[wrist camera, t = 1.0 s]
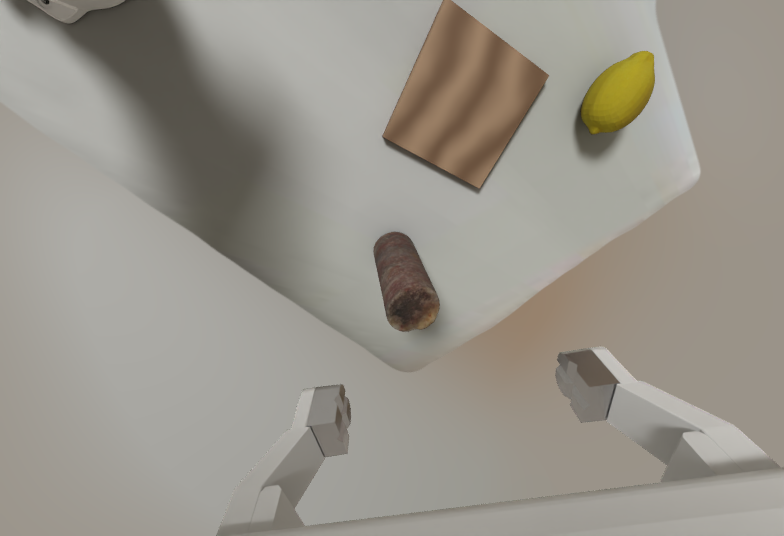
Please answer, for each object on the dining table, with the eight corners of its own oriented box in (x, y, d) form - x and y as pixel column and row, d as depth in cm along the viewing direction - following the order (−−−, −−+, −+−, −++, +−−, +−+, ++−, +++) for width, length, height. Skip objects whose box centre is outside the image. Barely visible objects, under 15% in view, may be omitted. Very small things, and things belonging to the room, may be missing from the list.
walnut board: (382, 136, 46) (383, 137, 44) (443, 0, 39) (446, -4, 37) (476, 186, 52) (479, 188, 50) (543, 76, 45) (549, 75, 43)
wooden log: (378, 224, 53) (395, 285, 35) (417, 232, 54) (451, 294, 37) (368, 261, 56) (379, 334, 39) (406, 268, 58) (432, 340, 40)
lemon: (586, 142, 50) (625, 149, 44) (556, 116, 48) (592, 119, 41) (638, 77, 47) (689, 74, 40) (608, 44, 44) (658, 34, 37)
